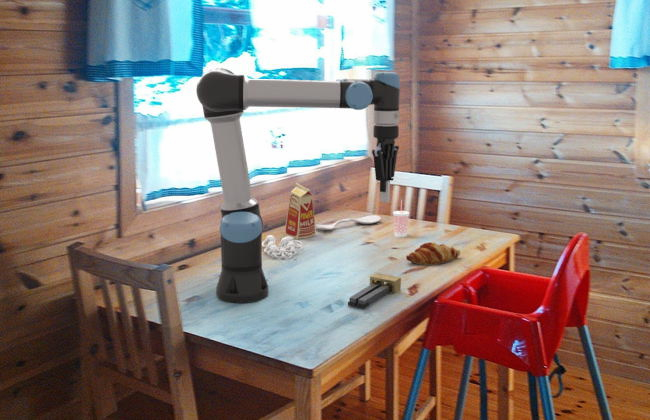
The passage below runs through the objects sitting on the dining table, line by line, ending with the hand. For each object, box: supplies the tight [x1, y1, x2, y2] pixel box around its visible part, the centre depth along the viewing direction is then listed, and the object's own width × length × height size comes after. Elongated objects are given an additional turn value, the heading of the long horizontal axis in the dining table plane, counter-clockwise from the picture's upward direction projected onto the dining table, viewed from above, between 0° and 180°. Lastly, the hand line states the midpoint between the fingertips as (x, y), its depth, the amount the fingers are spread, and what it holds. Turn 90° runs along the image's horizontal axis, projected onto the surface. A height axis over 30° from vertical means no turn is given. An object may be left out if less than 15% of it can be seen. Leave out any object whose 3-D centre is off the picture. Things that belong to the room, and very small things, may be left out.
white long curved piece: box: [315, 214, 382, 231], centre depth 294 cm, size 9×32×4 cm, turn 126°
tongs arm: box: [347, 281, 385, 308], centre depth 212 cm, size 18×2×2 cm, turn 149°
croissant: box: [405, 241, 461, 266], centre depth 248 cm, size 21×10×8 cm, turn 116°
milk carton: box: [283, 182, 316, 240], centre depth 278 cm, size 9×9×20 cm
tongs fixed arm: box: [355, 282, 392, 310], centre depth 213 cm, size 23×5×2 cm, turn 147°
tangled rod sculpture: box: [262, 234, 304, 260], centre depth 258 cm, size 19×14×4 cm
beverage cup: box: [392, 199, 410, 238], centre depth 279 cm, size 6×6×14 cm
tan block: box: [369, 272, 402, 294], centre depth 218 cm, size 4×8×4 cm, turn 57°
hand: (384, 201), depth 225 cm, fingers closed
